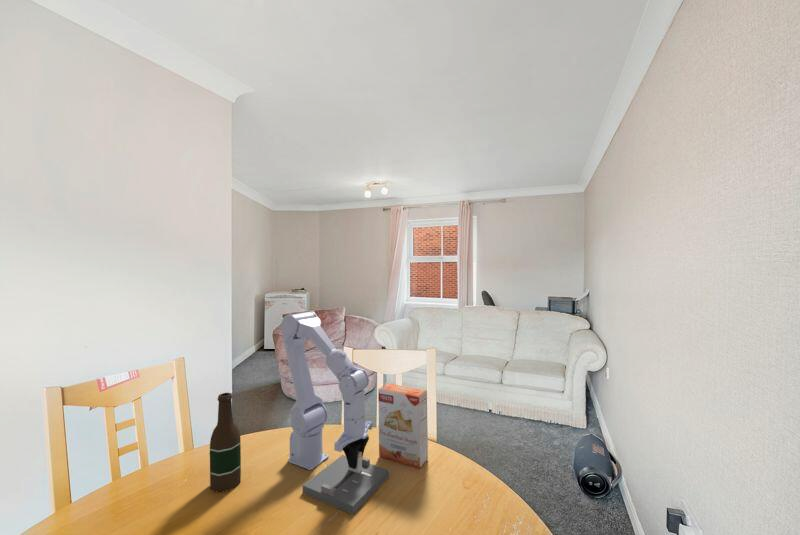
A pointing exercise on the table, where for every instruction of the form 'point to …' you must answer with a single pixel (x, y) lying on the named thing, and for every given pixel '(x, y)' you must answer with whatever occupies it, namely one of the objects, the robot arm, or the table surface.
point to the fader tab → (359, 464)
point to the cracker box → (403, 424)
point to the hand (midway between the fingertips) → (354, 465)
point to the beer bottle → (225, 448)
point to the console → (346, 484)
